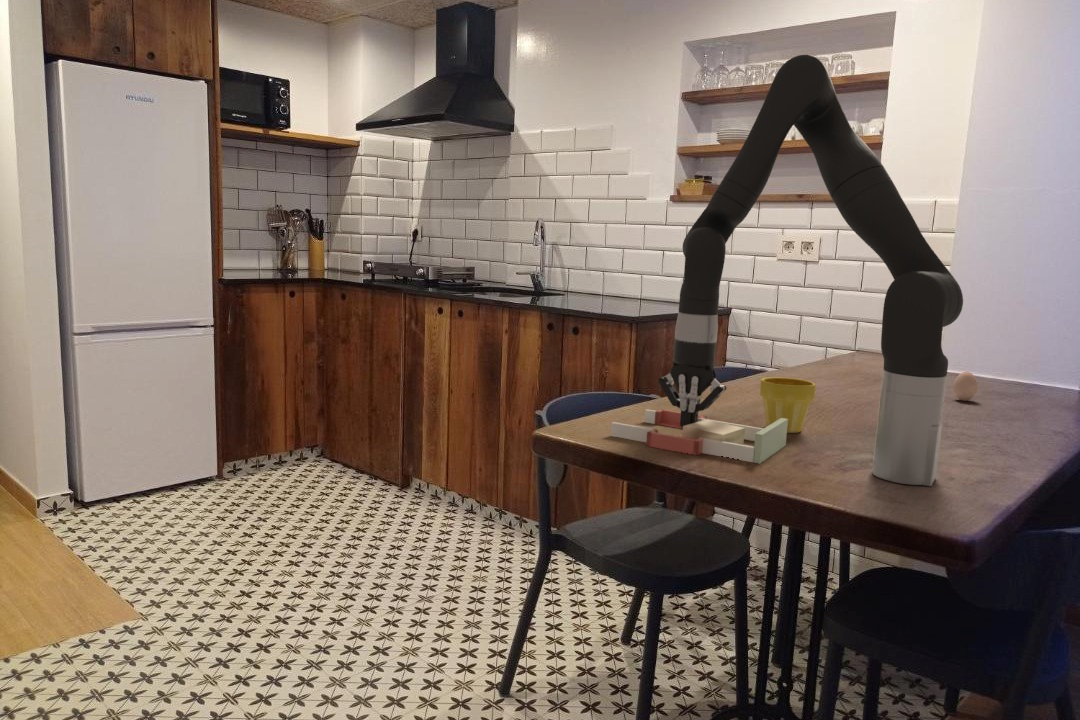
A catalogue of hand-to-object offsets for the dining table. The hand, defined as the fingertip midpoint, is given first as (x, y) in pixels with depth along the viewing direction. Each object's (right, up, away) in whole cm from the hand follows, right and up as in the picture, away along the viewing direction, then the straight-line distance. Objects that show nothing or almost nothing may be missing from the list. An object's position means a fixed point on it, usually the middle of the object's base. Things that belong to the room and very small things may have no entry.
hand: (687, 430), depth 151 cm
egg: (+78, +3, +52) cm, 94 cm away
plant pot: (+21, -1, +12) cm, 24 cm away
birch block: (+4, -3, -5) cm, 7 cm away
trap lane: (+2, -2, -1) cm, 3 cm away
